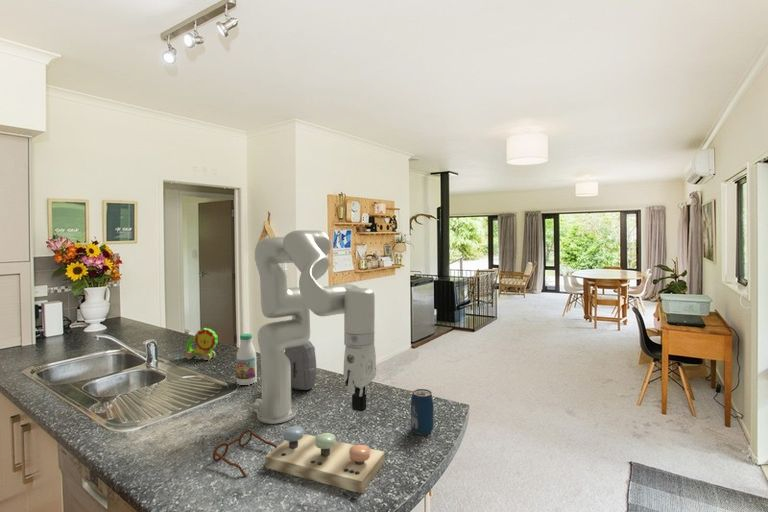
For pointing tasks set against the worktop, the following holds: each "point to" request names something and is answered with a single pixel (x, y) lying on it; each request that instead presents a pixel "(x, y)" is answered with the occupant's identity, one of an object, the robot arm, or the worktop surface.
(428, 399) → the soda can
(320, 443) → the sage key
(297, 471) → the wooden button board
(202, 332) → the toy lion
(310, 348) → the small grey backpack
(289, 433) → the slate-blue key
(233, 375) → the worktop surface
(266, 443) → the glasses
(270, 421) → the robot arm
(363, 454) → the terracotta key
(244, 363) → the milk bottle
